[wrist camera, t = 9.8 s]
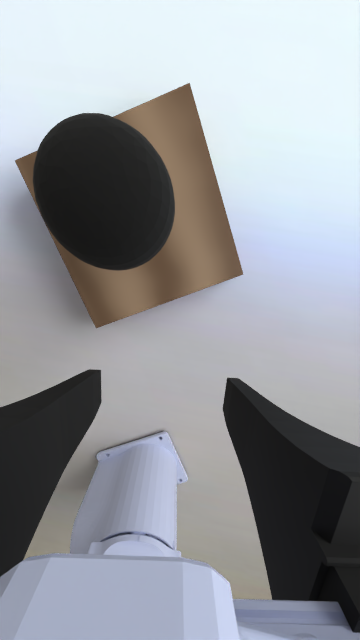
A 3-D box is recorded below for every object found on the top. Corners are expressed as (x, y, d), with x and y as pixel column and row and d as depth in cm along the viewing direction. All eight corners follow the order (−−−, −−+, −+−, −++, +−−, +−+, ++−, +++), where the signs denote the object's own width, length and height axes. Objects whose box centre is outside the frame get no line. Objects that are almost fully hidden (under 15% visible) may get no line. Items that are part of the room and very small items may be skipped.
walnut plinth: (107, 320, 21) (95, 328, 18) (42, 179, 17) (14, 160, 15) (233, 274, 20) (243, 274, 17) (187, 116, 16) (189, 82, 14)
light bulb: (116, 279, 17) (31, 285, 7) (94, 205, 15) (-51, 84, 6) (183, 263, 16) (191, 246, 7) (166, 187, 15) (146, 27, 5)
